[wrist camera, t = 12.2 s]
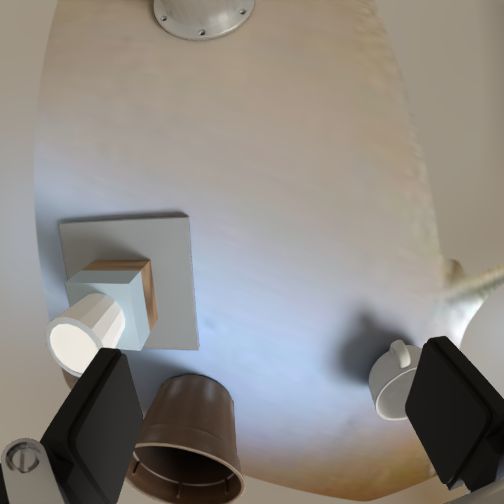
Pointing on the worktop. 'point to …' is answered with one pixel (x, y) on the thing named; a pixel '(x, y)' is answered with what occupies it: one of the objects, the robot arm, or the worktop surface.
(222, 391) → the plant pot
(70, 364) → the white rounded piece
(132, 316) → the brick
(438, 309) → the worktop surface
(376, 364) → the teacup
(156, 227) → the plate
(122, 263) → the brick
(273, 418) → the worktop surface
